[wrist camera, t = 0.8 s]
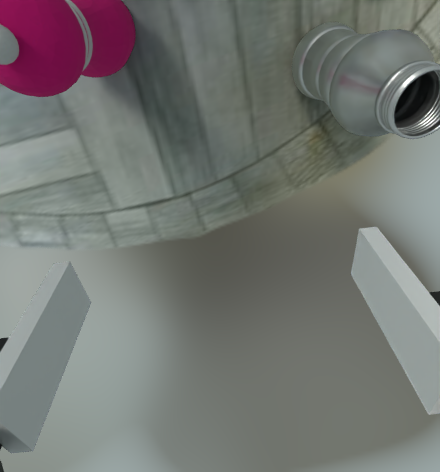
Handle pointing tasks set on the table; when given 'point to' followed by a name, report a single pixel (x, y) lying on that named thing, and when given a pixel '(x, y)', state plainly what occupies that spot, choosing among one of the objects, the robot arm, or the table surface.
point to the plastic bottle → (371, 79)
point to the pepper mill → (61, 42)
